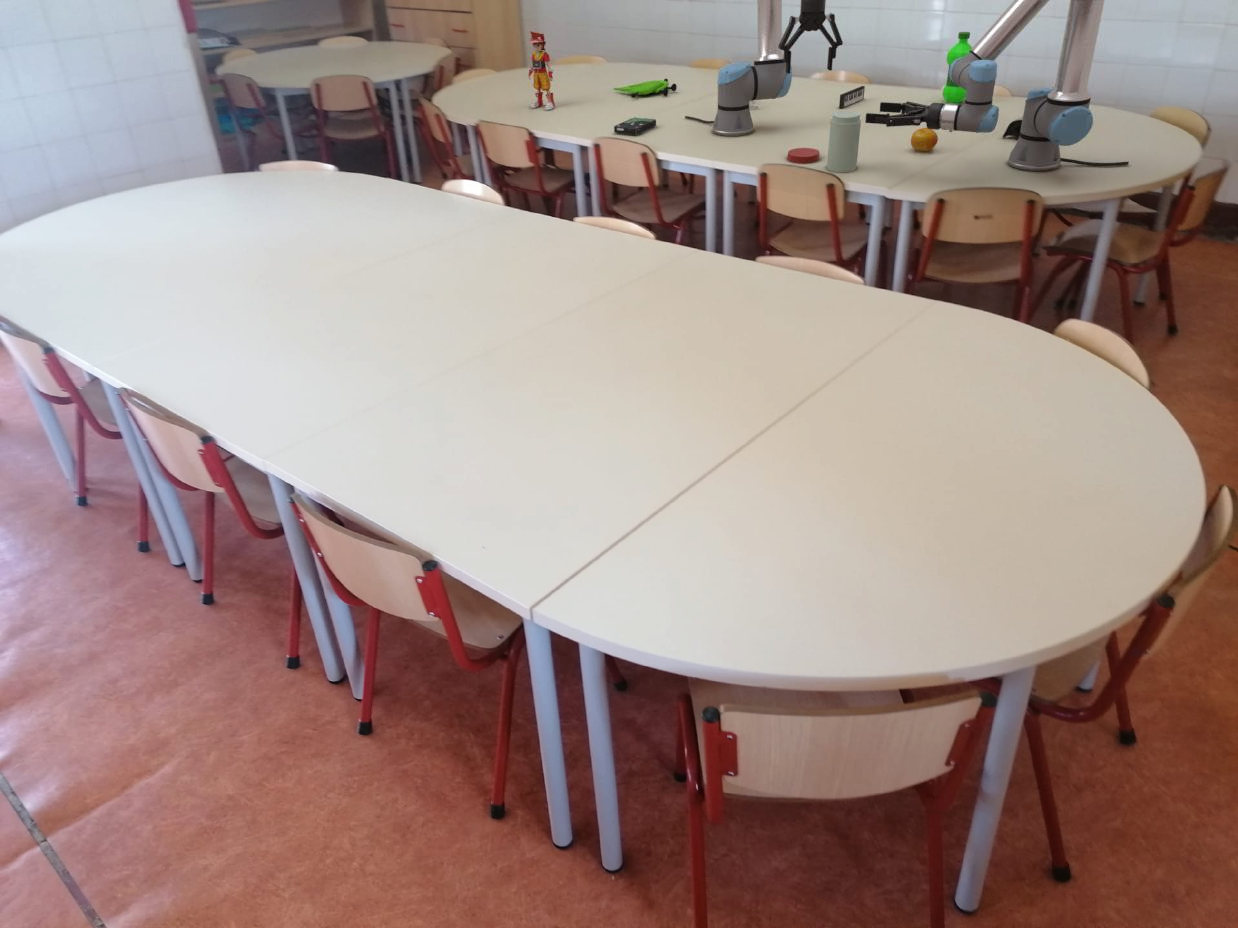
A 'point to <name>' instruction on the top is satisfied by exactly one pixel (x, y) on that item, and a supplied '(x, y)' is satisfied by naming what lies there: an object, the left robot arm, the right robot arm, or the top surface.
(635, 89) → the toy
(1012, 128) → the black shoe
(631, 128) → the disk drive
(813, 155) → the lid
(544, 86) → the toy
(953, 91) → the plastic bottle
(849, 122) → the jar
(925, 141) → the fruit
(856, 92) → the midi keyboard
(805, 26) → the left robot arm
